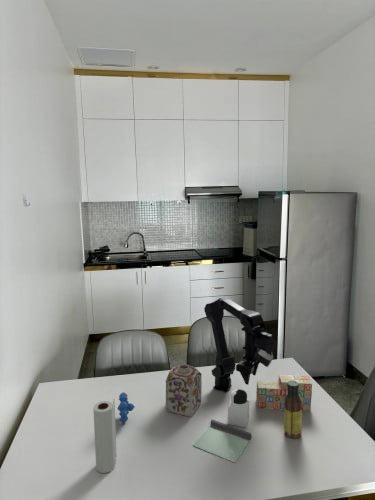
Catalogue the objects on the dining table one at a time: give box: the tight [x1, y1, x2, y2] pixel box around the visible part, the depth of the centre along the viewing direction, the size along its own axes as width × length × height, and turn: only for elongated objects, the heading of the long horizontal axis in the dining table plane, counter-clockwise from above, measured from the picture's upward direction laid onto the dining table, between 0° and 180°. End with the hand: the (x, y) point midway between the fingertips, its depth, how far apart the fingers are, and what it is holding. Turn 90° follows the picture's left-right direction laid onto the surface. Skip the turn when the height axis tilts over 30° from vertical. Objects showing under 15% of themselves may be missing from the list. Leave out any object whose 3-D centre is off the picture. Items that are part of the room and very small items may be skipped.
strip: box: [210, 419, 252, 441], centre depth 134 cm, size 16×1×2 cm, turn 59°
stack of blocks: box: [255, 374, 313, 412], centre depth 149 cm, size 21×6×12 cm, turn 85°
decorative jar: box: [165, 363, 203, 418], centre depth 148 cm, size 12×12×18 cm
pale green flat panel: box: [192, 426, 250, 464], centre depth 127 cm, size 16×12×1 cm
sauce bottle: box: [283, 381, 303, 439], centre depth 131 cm, size 6×6×20 cm
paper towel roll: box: [93, 399, 117, 474], centre depth 115 cm, size 7×6×21 cm
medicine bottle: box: [227, 388, 250, 429], centre depth 139 cm, size 7×7×12 cm
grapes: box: [117, 392, 136, 424], centre depth 139 cm, size 12×7×12 cm, turn 10°
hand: (250, 379), depth 148 cm, fingers open, 8 cm apart
